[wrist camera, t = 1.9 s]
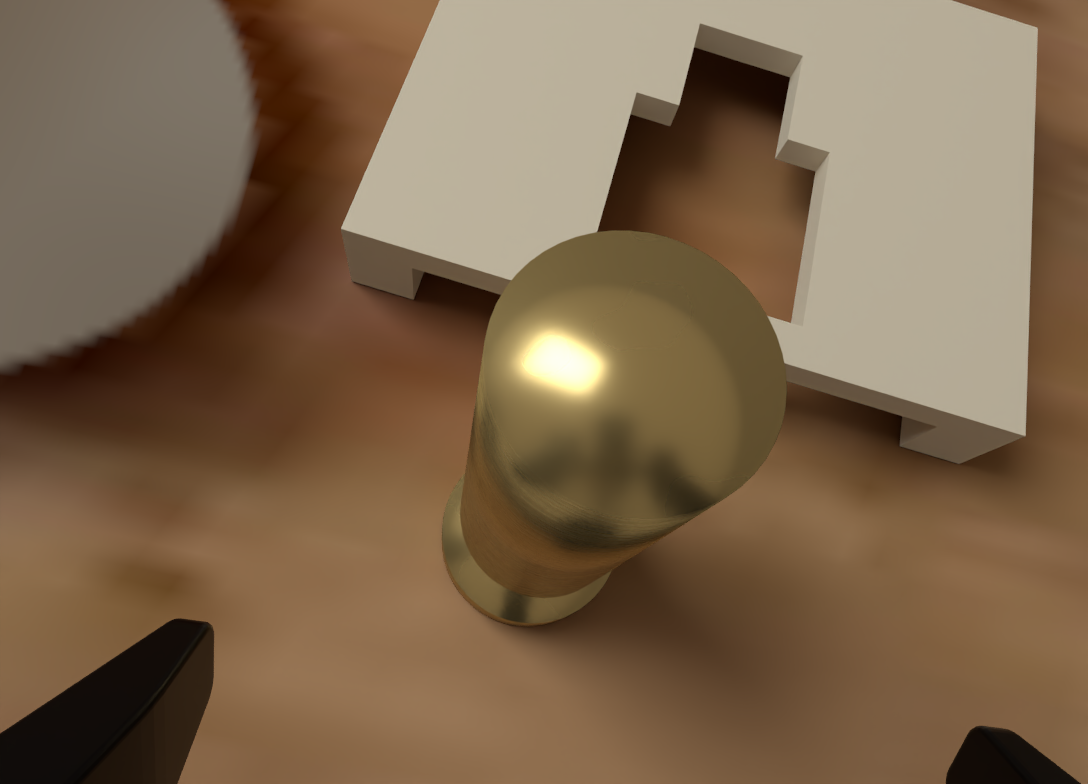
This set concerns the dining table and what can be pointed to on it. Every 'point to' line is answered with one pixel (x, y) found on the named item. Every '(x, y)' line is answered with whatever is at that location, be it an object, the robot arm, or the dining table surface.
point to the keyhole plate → (805, 140)
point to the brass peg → (606, 418)
